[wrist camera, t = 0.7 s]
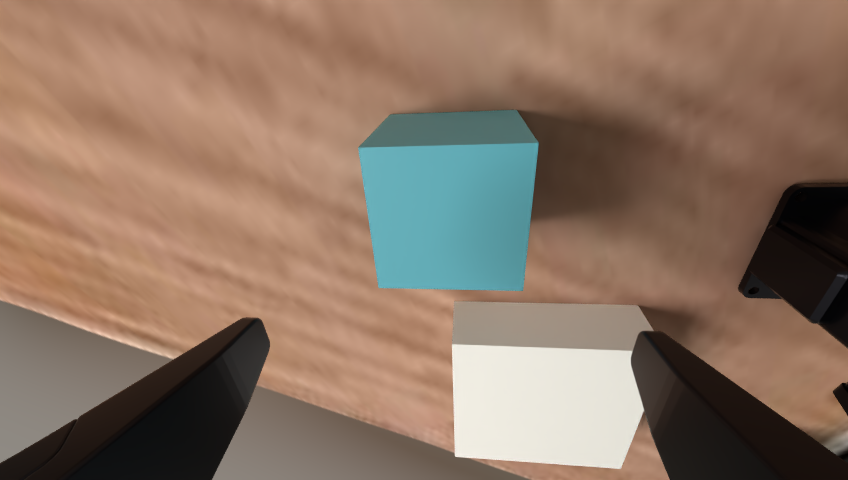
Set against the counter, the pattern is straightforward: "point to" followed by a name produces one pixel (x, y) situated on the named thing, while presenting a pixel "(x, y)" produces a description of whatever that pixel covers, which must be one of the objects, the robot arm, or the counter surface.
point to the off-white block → (545, 382)
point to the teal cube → (450, 199)
